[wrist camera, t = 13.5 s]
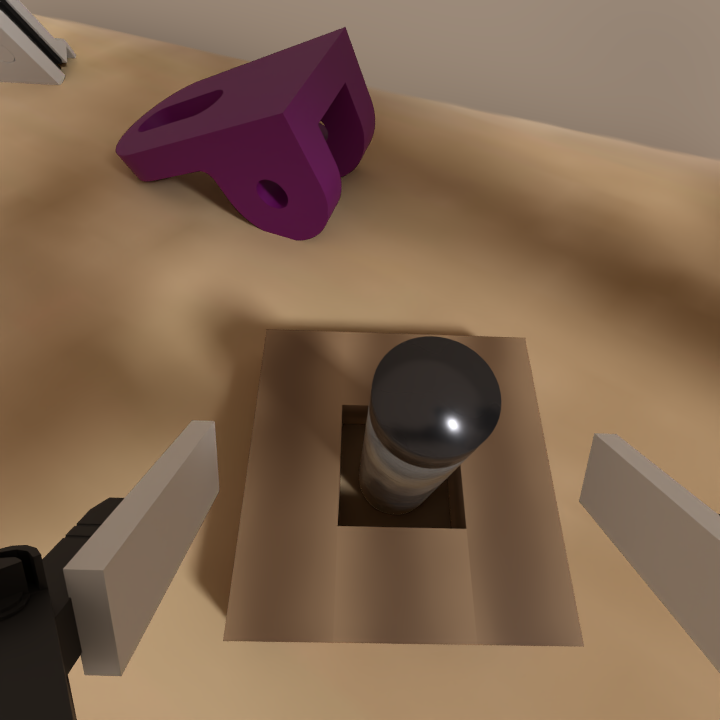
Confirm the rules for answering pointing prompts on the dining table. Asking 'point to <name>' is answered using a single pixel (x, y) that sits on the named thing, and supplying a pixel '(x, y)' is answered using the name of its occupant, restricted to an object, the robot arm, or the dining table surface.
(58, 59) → the napkin holder
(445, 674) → the dining table surface
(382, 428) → the grey and black cylinder
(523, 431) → the socket block
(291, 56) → the mounting bracket
